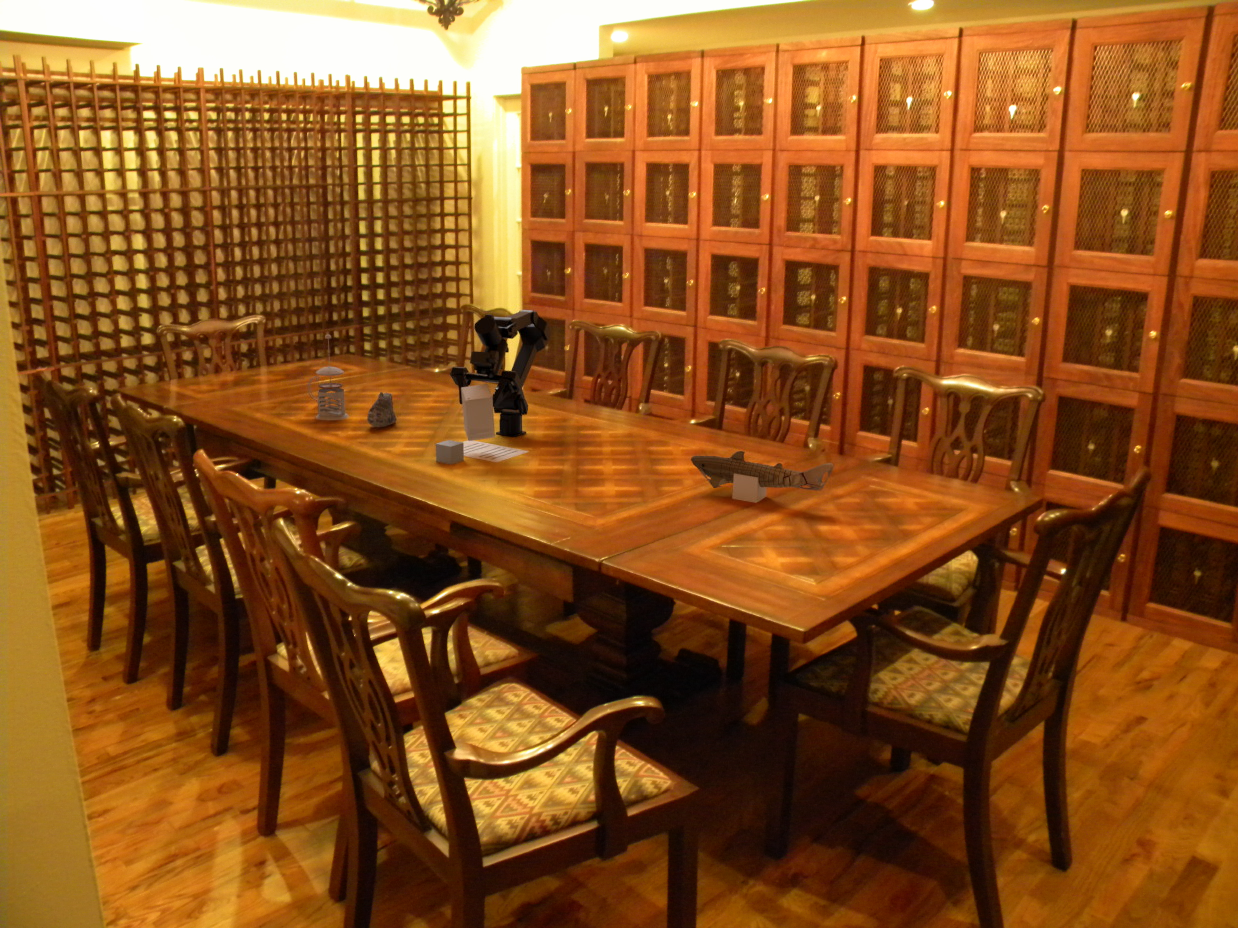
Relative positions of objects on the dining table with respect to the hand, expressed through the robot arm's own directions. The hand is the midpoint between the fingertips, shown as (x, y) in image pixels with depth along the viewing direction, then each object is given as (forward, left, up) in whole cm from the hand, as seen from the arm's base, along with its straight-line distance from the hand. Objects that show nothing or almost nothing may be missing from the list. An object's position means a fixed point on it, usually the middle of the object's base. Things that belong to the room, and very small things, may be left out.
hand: (476, 405), depth 281 cm
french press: (-6, -63, -13) cm, 65 cm away
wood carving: (-7, +79, -13) cm, 80 cm away
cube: (+11, 0, -13) cm, 17 cm away
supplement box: (-2, -1, -8) cm, 9 cm away
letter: (-2, 0, -13) cm, 13 cm away
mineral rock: (-7, -43, -13) cm, 46 cm away
